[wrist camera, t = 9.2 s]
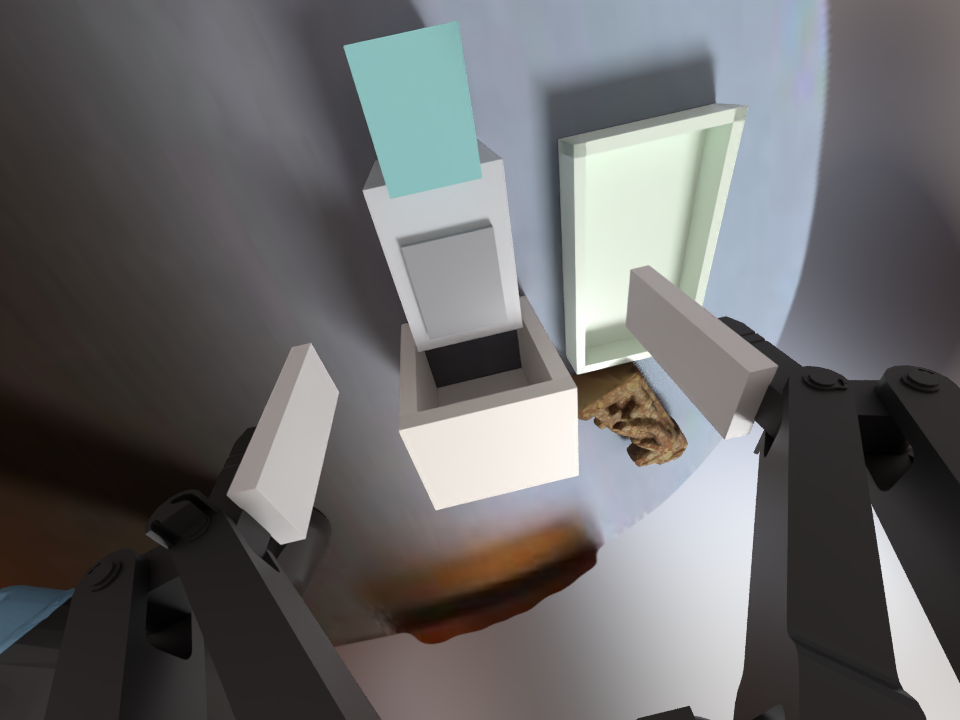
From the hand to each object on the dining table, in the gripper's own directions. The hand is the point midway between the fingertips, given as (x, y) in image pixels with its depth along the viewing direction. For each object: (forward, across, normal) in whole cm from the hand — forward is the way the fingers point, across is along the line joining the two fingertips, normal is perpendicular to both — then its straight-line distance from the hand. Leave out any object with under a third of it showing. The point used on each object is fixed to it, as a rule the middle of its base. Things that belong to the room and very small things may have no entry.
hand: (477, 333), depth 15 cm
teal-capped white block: (+16, 0, +2) cm, 16 cm away
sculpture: (+17, +16, -26) cm, 34 cm away
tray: (+16, +15, -6) cm, 23 cm away
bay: (+16, 0, -13) cm, 20 cm away
